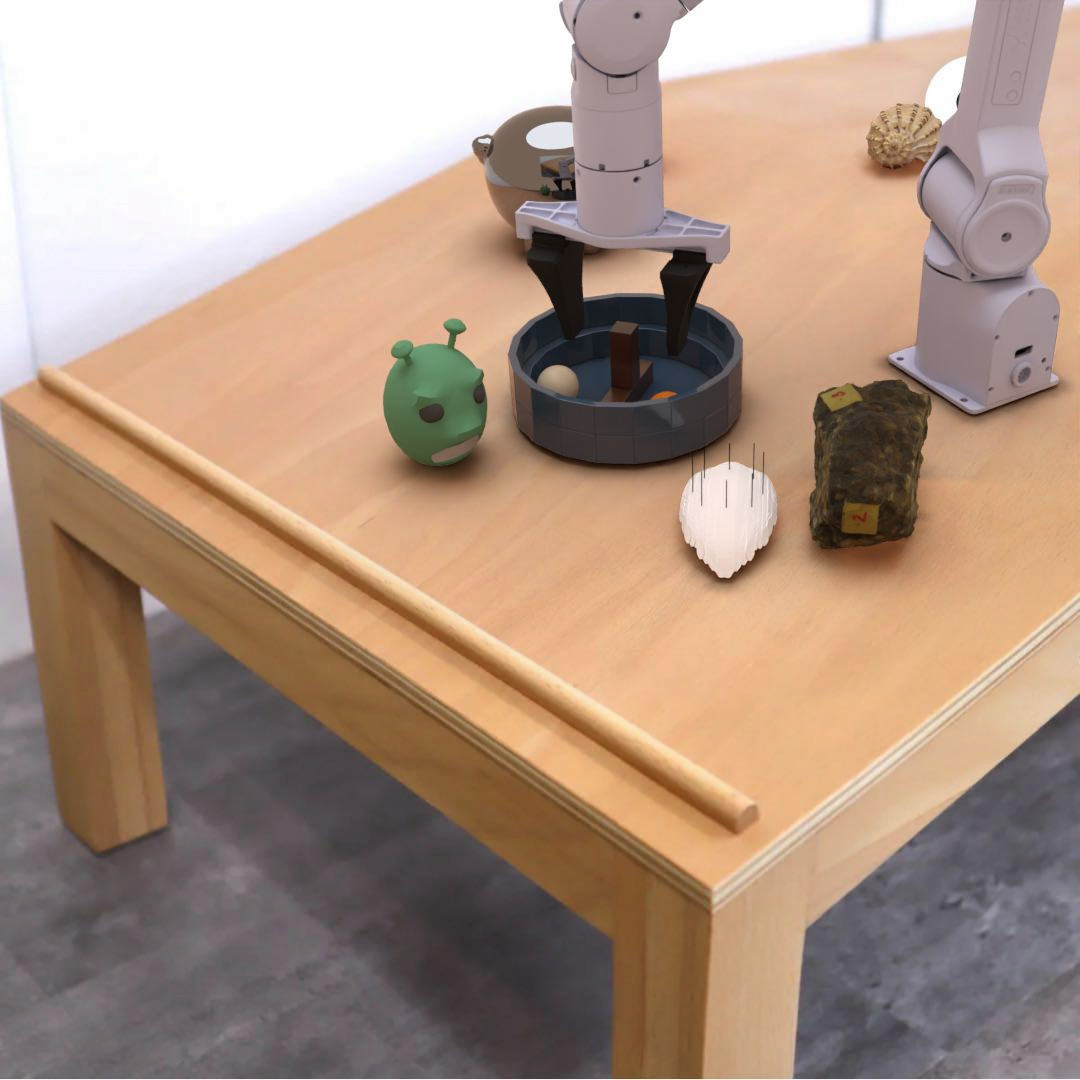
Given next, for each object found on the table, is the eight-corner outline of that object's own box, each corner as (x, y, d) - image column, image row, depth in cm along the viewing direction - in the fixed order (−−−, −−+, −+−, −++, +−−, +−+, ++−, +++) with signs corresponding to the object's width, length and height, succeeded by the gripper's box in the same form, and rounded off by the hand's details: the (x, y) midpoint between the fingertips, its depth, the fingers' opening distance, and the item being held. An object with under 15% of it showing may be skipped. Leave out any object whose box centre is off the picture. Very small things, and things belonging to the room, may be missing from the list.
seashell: (859, 174, 151) (868, 169, 141) (860, 109, 150) (869, 99, 140) (942, 172, 150) (957, 167, 141) (944, 107, 149) (959, 97, 139)
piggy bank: (655, 265, 132) (653, 131, 125) (475, 271, 133) (463, 139, 126) (653, 209, 141) (651, 82, 134) (485, 215, 142) (474, 89, 135)
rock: (979, 450, 91) (843, 430, 91) (940, 589, 95) (809, 571, 95) (934, 380, 103) (813, 362, 102) (901, 507, 106) (784, 490, 106)
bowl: (787, 424, 110) (789, 361, 108) (583, 496, 105) (580, 431, 102) (664, 332, 122) (663, 273, 119) (475, 392, 117) (469, 332, 114)
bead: (593, 387, 112) (575, 409, 114) (573, 352, 113) (556, 375, 115) (559, 397, 110) (542, 419, 113) (539, 362, 111) (523, 384, 113)
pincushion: (686, 472, 106) (685, 398, 103) (778, 474, 105) (781, 400, 102) (673, 580, 97) (672, 503, 94) (774, 584, 96) (777, 506, 93)
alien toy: (432, 503, 105) (416, 371, 99) (371, 456, 110) (353, 328, 105) (518, 465, 108) (507, 335, 103) (455, 420, 114) (442, 294, 108)
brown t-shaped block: (633, 377, 116) (630, 303, 113) (653, 380, 116) (652, 306, 112) (597, 425, 111) (594, 349, 108) (619, 428, 110) (616, 352, 107)
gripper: (745, 142, 103) (742, 329, 111) (539, 122, 108) (551, 301, 116) (710, 185, 98) (710, 377, 106) (496, 161, 103) (511, 347, 111)
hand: (625, 341), depth 110 cm, fingers open, 7 cm apart
